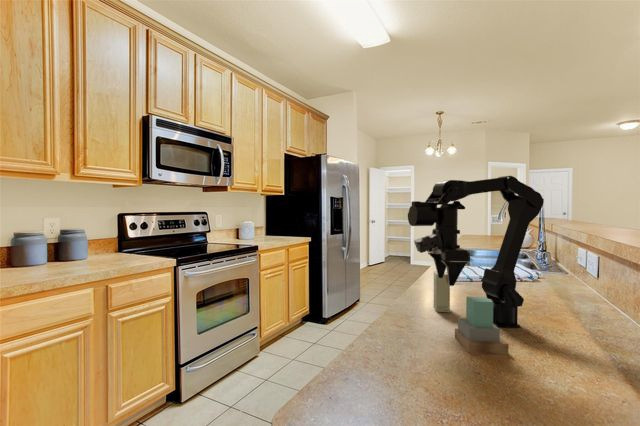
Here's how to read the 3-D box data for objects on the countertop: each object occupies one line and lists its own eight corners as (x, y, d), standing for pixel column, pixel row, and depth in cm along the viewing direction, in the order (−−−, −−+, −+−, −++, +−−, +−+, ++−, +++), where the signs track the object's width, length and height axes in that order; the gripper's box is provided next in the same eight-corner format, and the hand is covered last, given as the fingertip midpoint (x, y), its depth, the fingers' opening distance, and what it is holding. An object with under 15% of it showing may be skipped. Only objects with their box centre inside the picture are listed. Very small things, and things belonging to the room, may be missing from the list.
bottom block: (490, 340, 85) (490, 329, 85) (508, 356, 76) (508, 344, 76) (454, 339, 86) (454, 328, 86) (468, 355, 77) (468, 343, 77)
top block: (485, 330, 85) (485, 318, 85) (499, 341, 78) (499, 328, 78) (458, 329, 85) (458, 318, 85) (469, 341, 78) (469, 328, 78)
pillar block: (484, 320, 83) (484, 296, 83) (492, 327, 79) (493, 302, 79) (466, 320, 83) (466, 296, 83) (473, 326, 79) (474, 301, 79)
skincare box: (450, 313, 105) (450, 274, 105) (435, 312, 106) (436, 274, 105) (446, 307, 111) (447, 270, 111) (433, 306, 112) (433, 270, 112)
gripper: (409, 223, 102) (409, 274, 102) (426, 228, 83) (425, 290, 83) (446, 223, 101) (445, 274, 101) (471, 228, 82) (470, 290, 83)
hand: (445, 281), depth 92 cm, fingers open, 9 cm apart
